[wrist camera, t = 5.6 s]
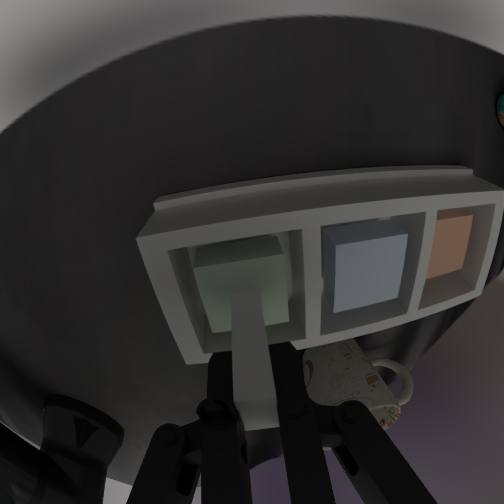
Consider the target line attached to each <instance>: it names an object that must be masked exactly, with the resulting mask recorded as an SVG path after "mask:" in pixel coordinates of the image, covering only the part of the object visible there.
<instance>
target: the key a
mask: <svg viewBox="0 0 504 504" xmlns="http://www.w3.org/2000/svg"><path fill="white" fill-rule="evenodd" d="M193 270H194V274H195V277H196V281H197V284H198V288H199V291H200V294H201V298H202V301H203V304H204V308H205V311H206V314H207V317H208V320H209V324H210V327H211V330H212V333H217V332H225V331H231V293H237V292H244V291H250V290H257V289H259V292H260V298H261V305H262V311H263V317H264V323H265V326H266V325H273V324H278V323H284V322H289V312H288V298H287V286H286V274H285V262H284V253H283V251H282V248H281V245H280V243H279V240H278V238H277V236H272V237H265V238H259V239H252V240H246V241H240V242H233V243H227V244H221V245H215V246H208V247H202V248H197V251H196V256H195V261H194V266H193Z"/></svg>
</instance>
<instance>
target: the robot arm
mask: <svg viewBox="0 0 504 504" xmlns="http://www.w3.org/2000/svg"><path fill="white" fill-rule="evenodd" d="M231 331H232V350H231V351H222V352H213V354H212V356H211V358H210V360H209V362H208V384H207V398H206V399H205V400H203V401H201V403H200V404H199V405H198V406H197V410H196V413H197V415H198V416H199V418H200V419H199V420H197V421H195V422H193V423H190V424H187V425H184V426H181V427H180V426H178V425H175V424H164V425H162V426H160V427H159V428H157V430H156V431H155V433H154V435H153V437H152V439H151V442H150V444H149V447H148V449H147V452H146V454H145V457H144V459H143V462H142V464H141V467H140V469H139V472H138V474H137V477H136V480H135V482H134V485H133V487H132V490H131V492H130V495H129V498H128V500H127V503H126V504H191V503H192V500H193V497H194V493H195V490H196V487H197V483H198V480H199V476H200V473H201V504H253V503H252V493H251V482H250V470H249V459H248V447H247V441H246V438H245V430H246V431H248V430H257V429H265V428H272V427H279V426H280V432H281V439H282V445H283V452H284V458H285V465H286V472H287V478H288V485H289V491H290V498H291V504H336V503H335V499H334V494H333V490H332V485H331V481H330V476H329V472H328V468H327V464H326V459H325V455H324V451H323V447H331V449H332V451H333V453H334V454H335V456H336V457H337V459H338V461H339V463H340V464H341V466H342V468H343V469H344V471H345V473H346V474H347V476H348V477H349V479H350V481H351V482H352V484H353V486H354V487H355V489H356V490H357V492H358V494H359V495H360V497H361V498H362V500H363V502H364V503H365V504H437V502H436V501H435V499H434V498H433V497H432V495H431V494H430V493H429V491H428V490H427V489H426V487H425V486H424V484H423V483H422V482H421V480H420V479H419V478H418V476H417V475H416V473H415V472H414V471H413V469H412V468H411V467H410V465H409V464H408V463H407V461H406V460H405V458H404V457H403V456H402V454H401V453H400V451H399V450H398V449H397V447H396V446H395V445H394V443H393V442H392V441H391V439H390V438H389V436H388V435H387V434H386V432H385V431H384V430H383V428H382V427H381V425H380V424H379V423H378V421H377V420H376V419H375V417H374V416H373V415H372V413H371V412H370V410H369V409H368V408H367V406H366V405H364V404H363V403H362V402H360V401H357V400H348V401H345V402H342V403H341V404H340V405H338V406H328V405H320V404H318V403H316V402H314V401H313V400H312V399H311V398H310V397H309V395H308V393H307V389H306V385H305V381H304V377H303V374H302V370H301V366H300V362H299V358H298V354H297V350H296V348H295V347H294V346H293V345H292V343H291V342H290V341H288V342H282V343H276V344H270V345H268V342H267V335H266V329H265V323H264V317H263V311H262V305H261V298H260V292H259V289H257V290H250V291H244V292H237V293H231ZM43 414H44V420H43V440H42V444H41V447H40V450H38V449H37V448H35V447H34V446H32V445H31V444H29V443H28V442H26V441H25V440H24V439H22V438H21V437H19V436H18V435H17V434H15V433H14V432H12V431H11V430H10V429H9V428H7V427H6V426H5V425H3V424H2V423H1V422H0V504H103V496H104V488H105V481H106V475H107V469H108V466H109V465H110V463H111V461H112V460H113V458H114V457H115V455H116V453H117V451H118V450H119V448H120V447H121V446H122V443H123V438H124V431H123V429H122V428H121V427H120V426H119V425H118V424H117V423H116V422H115V421H113V420H112V419H111V418H109V417H108V416H106V415H105V414H103V413H101V412H99V411H98V410H96V409H94V408H92V407H90V406H88V405H86V404H83V403H81V402H79V401H76V400H73V399H70V398H67V397H63V396H58V395H51V396H48V397H47V399H46V401H45V404H44V406H43Z"/></svg>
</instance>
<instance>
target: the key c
mask: <svg viewBox="0 0 504 504" xmlns="http://www.w3.org/2000/svg"><path fill="white" fill-rule="evenodd" d="M472 219H473V214H471V213H469V212H468V211H466V210H464V209H463V208H461V207H460V208H451V209H443V210H437V218H436V226H435V232H434V239H433V245H432V250H431V256H430V261H429V266H428V270H427V275H426V279H428V278H431V277H435V276H438V275H442V274H445V273H449V272H452V271H455V270H459V269H462V266H463V262H464V258H465V254H466V250H467V245H468V240H469V236H470V231H471V225H472Z"/></svg>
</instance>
